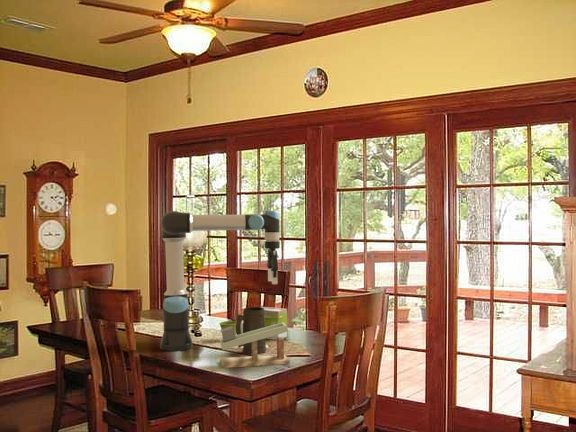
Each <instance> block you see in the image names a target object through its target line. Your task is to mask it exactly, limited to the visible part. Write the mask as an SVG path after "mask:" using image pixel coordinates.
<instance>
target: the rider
mask: <svg viewBox="0 0 576 432" xmlns="http://www.w3.org/2000/svg"><path fill="white" fill-rule="evenodd" d="M220 333H221V336H222V339H223V341H224V342H228V341H231V340H235V339H236V337H235V333H234V329H233V327H232V326H231V327H228V328H224V329H221V328H220Z"/></svg>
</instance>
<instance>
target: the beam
mask: <svg viewBox="0 0 576 432" xmlns="http://www.w3.org/2000/svg"><path fill="white" fill-rule="evenodd" d="M285 332H287V333H288V332H289V331H288V325H287V326H286V325H285V324H284V323H283V322H282V323H279V324H275V325H272V326H268V327H264V328H261V329H257V330H253V331H250V332H246V333H243V332H242V333H241V334H239V335H237V334H236V335H235V337H236V339H235V340H231V341H228V342H224V341H223V338H221V339H219V343H220V347H221V349H222V351H225V350H228V349H231V348H235V347H238V346H239V345H243V344H246V343H250V342H253V341H257V340H260V339H264V338H268V337H271V336H275V335H278V334H282V333H285Z"/></svg>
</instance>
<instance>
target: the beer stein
mask: <svg viewBox="0 0 576 432" xmlns="http://www.w3.org/2000/svg"><path fill="white" fill-rule="evenodd" d="M261 307H262V306H260V307H257V306H255V307H253V306H252V307H245V308H243V310H242V313H239V314H237V315H236V318H237V319H236V322H237V323H236V335H239V334H243V333H246V332H250V331H253V330H257V329H261V328H264V327H265V310H264V308H261ZM241 323H242V328H241ZM241 329H242V331H241ZM266 343H267V339H266V338H264V339H260V340H257V353H260V354H264V353H266V352H267V347H266V345H267V344H266ZM237 347H238V348H239V349H240V348H241V347H243V348H242V352H243V353H244V354H247V353H252V342H250V343H246V344H243V345H239V346H237ZM265 351H266V352H265ZM263 352H264V353H263Z"/></svg>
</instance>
